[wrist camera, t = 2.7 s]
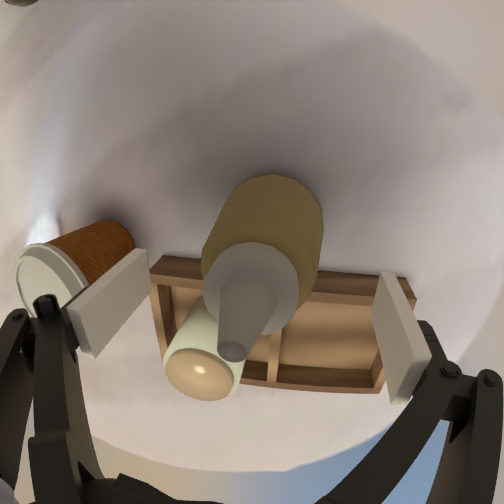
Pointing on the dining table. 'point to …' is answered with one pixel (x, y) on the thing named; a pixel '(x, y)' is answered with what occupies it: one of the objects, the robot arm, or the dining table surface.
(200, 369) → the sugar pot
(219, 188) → the dining table surface
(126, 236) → the disposable coffee cup
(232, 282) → the squeeze bottle
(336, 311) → the caddy
